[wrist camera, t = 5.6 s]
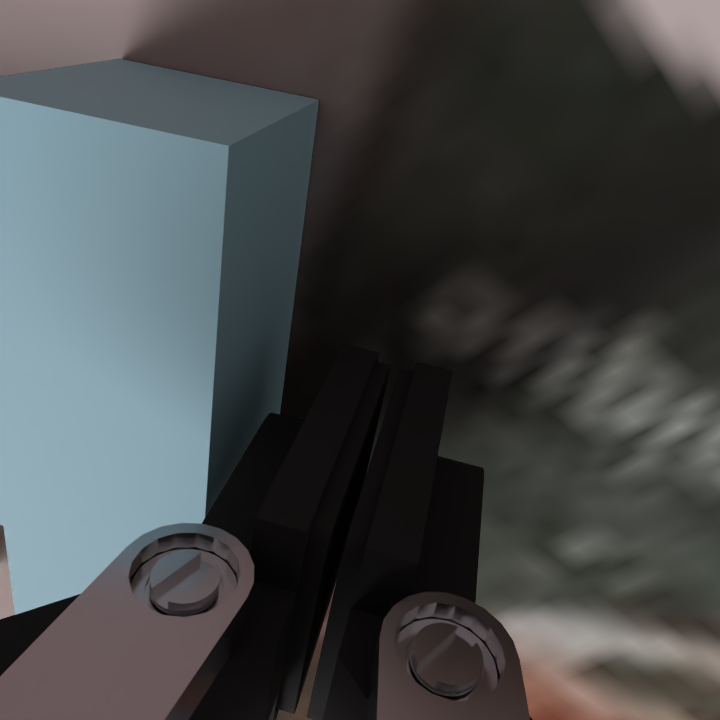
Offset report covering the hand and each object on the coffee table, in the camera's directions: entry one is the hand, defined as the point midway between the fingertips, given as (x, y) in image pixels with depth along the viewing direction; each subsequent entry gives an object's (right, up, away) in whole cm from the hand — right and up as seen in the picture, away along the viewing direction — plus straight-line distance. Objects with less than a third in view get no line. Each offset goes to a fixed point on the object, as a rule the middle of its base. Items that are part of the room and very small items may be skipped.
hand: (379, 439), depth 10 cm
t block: (-5, +2, +2) cm, 6 cm away
